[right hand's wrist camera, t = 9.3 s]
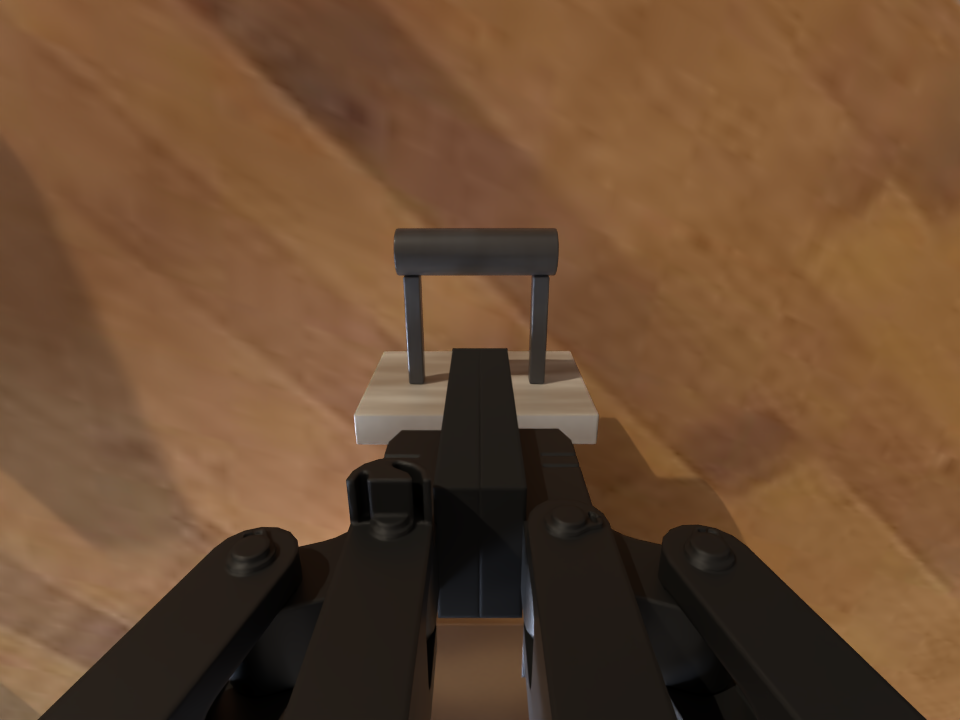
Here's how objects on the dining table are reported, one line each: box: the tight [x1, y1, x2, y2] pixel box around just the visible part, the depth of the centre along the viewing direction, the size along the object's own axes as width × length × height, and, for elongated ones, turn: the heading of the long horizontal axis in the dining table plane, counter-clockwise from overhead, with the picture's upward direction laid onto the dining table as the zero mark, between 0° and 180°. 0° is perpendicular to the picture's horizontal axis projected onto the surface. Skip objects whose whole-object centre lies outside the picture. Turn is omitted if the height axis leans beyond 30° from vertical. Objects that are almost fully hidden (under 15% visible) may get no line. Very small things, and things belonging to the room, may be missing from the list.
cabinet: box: [431, 609, 529, 720], centre depth 28 cm, size 20×10×8 cm, turn 0°
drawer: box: [354, 228, 599, 444], centre depth 24 cm, size 25×8×6 cm, turn 0°
